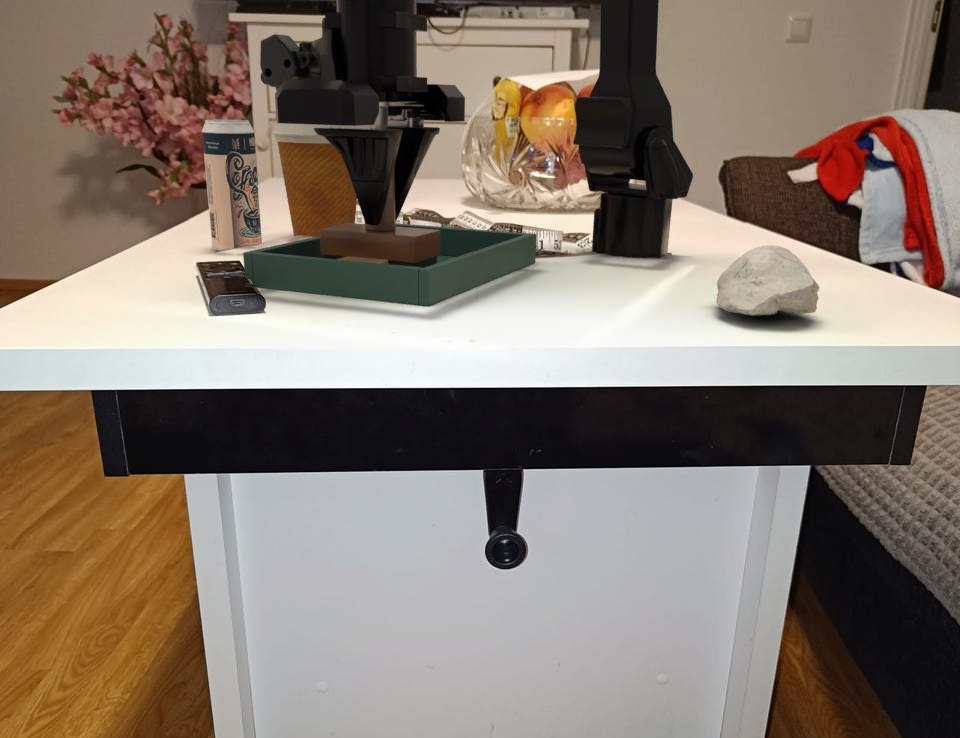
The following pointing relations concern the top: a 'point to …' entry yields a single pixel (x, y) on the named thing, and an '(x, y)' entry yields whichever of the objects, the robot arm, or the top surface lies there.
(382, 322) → the top surface
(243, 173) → the coffee drink can
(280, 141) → the disposable coffee cup
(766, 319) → the top surface
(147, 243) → the top surface
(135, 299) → the top surface
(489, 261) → the tray
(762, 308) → the grey stone
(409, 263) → the scrub brush
